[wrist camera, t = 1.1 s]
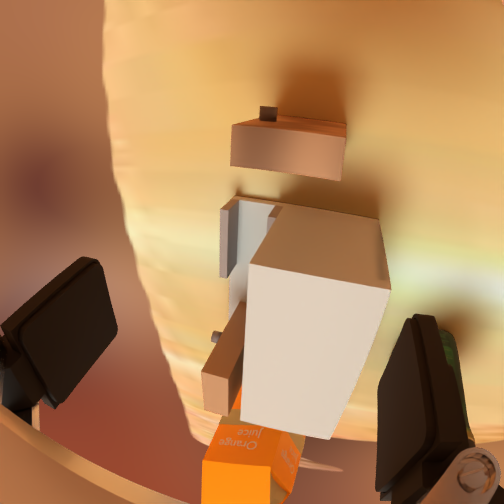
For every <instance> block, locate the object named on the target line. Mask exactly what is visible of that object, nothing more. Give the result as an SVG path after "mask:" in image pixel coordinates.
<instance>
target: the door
mask: <svg viewBox="0 0 504 504" xmlns="http://www.w3.org/2000/svg"><path fill="white" fill-rule="evenodd" d="M345 144H346V124H344V123H337V122H331V121H323V120H316V119H308V118H300V117H291V116H281V115H277V107H268V106H260V116H259V118H257V119H253V120H249V121H245V122H241V123H237V124H234V125H232V135H231V160H230V166H235V167H244V168H253V169H261V170H269V171H276V172H284V173H291V174H298V175H304V176H311V177H317V178H324V179H330V180H336V181H341V174H342V167H343V160H344V152H345Z"/></svg>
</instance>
